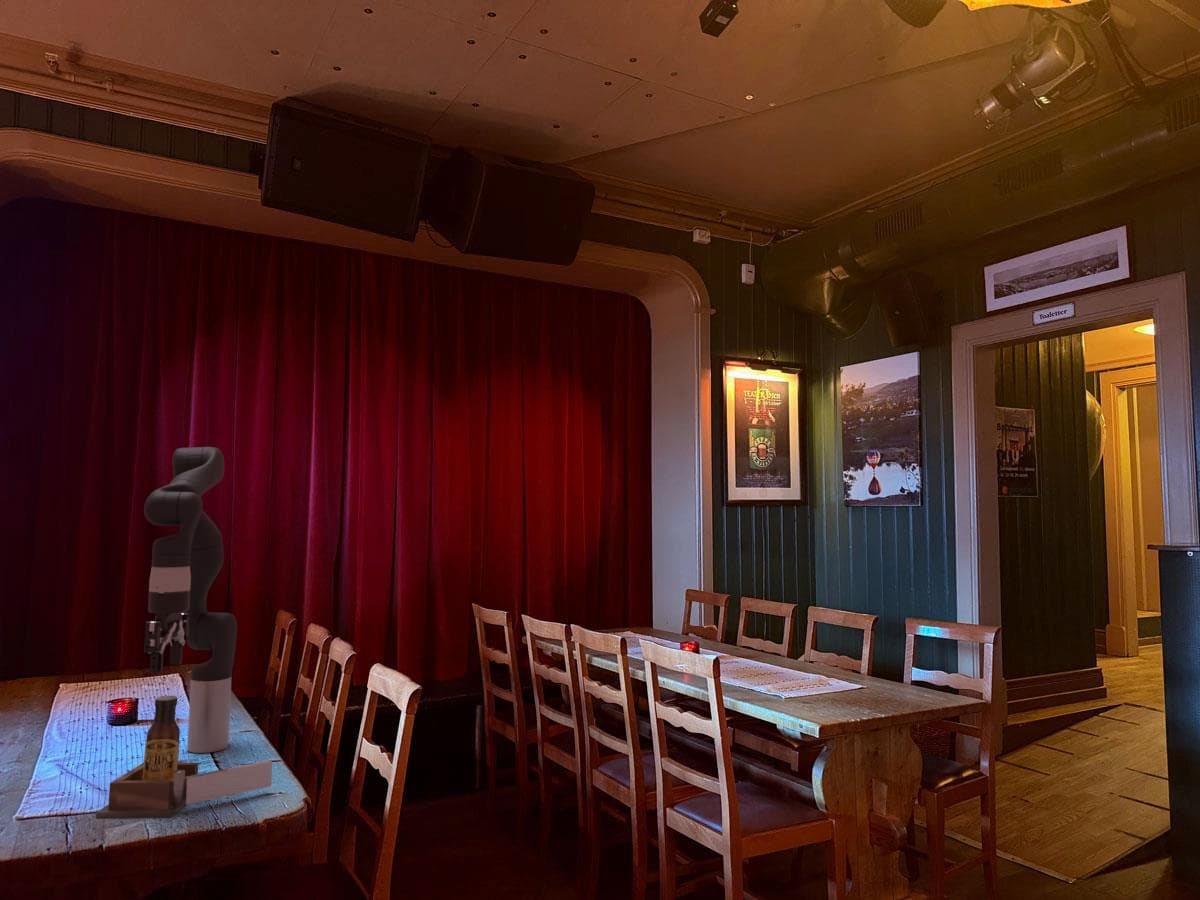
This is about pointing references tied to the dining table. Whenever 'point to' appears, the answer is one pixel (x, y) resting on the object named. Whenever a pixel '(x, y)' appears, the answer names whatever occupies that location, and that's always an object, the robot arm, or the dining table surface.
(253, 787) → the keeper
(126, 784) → the cradle
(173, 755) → the sauce bottle
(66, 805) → the dining table surface
